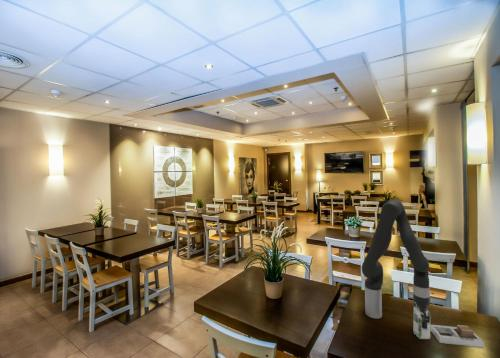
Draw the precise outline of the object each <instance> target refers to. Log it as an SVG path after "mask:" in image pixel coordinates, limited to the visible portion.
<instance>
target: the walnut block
mask: <svg viewBox="0 0 500 358" xmlns="http://www.w3.org/2000/svg"><path fill="white" fill-rule="evenodd" d="M456 327H457V334H458V335H459V336H460V337H462V338H472V339H474V333H475V332H474V330H473V329H471V327H469V326H468V325H461V324H456Z"/></svg>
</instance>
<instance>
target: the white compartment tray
mask: <svg viewBox="0 0 500 358" xmlns="http://www.w3.org/2000/svg"><path fill="white" fill-rule="evenodd" d="M430 333H432V335H434V337H435V338H436V340H437V341H438V342H439V344H447V345H455V346H456V345H457V346H464V347H472V348H473V347H474V348H481V349H482V348H483V349H484V347H485V346H484V341H483V340H482V339H481V338H480V337H479V336H478V335H477V334H476V333H475V332H474V339H472V338H462V337H460V336H459V335H458V334H457V326H449V325H439V324H430ZM443 334H449V335H443Z"/></svg>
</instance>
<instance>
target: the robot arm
mask: <svg viewBox="0 0 500 358" xmlns="http://www.w3.org/2000/svg"><path fill="white" fill-rule="evenodd" d="M379 214H380V215H379V219H378V222H377V226H376V228H375V231H374V233H373V236H372V238H371V243H370V246H369V248H368V251H367V254H366V256H365V258H364V260H363V262H362V265H361V272H362V274H363V276H364V277H366V278H368V279H366V280H365V282H364V302H365V303H364V305H365V306H364V307H365V310H364V311H365V315H366V316H367V317H368V318H371V319H381V318H382V317H383V316H382V315H383V311H382V310H383V305H382V302H383V301H382V299H383V298H382V297H383V296H382V287H383V282H384V267H383V265H382V263H381V262H380V261H379V260H380V259H381V257H383V256H384V254H385V253H386V252H387V251H388V249H389V247H390V245H391V242H392V237H393V236H392V232H393V231H392V229H393V226H394V223H395V222H396V224H397V227H398V230H399V231H398V232H399V238H400V240H401V243H402V244H403V246H404V248H405V250H406V252H407V254H408V256H409V260H410V261H411V264H412V266H413V279H412V281H413V286H412V301H413V308H414V307H417V308H418V310H419V311H420V312H422V313H423V314H424V315H422V314H421V317H422V328H423V329H427V323H430V324H431V311H429V312H427V310H428V307H427V306H429V305H430V304H431V291H430V290H431V289H430V279H429V278H430V277H429V269H430V261H429V259H428V258H427V257H426V256H425V255H424V253H423V251H422V248H421V245H420V242H419V241H418V239H417V237H416V236H415V233H414V230H413V229H412V226H411V224H410V221H409V218H408V215H407V212H406V209H405V206H404V204H403V203H402V202H401V200H399V199H395V198H394V199H389V200H388V201H385V202H384V204H382V206H381V209H380V213H379ZM425 319H426V320H425Z"/></svg>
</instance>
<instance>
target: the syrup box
mask: <svg viewBox="0 0 500 358" xmlns="http://www.w3.org/2000/svg"><path fill="white" fill-rule="evenodd" d="M427 312H430V311H429V310H428V309H427ZM421 314H422V315H424V314H423V313H422V312H420V311H419V310H418V308H417V307H414V306H413V322H412V323H413V324H412V325H413V326H412V327H413V334H414V335H416V337H417V338H418V339H419V340H430V339H431V331H430V325H431V322H430V323H427V329H423V328H422V317H421ZM425 320H426V319H425Z"/></svg>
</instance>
